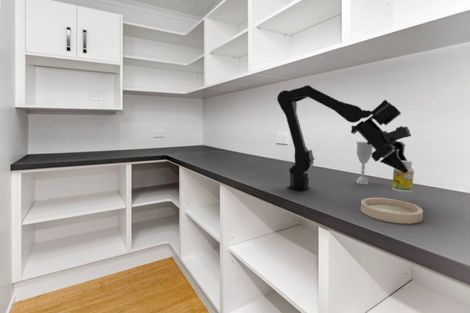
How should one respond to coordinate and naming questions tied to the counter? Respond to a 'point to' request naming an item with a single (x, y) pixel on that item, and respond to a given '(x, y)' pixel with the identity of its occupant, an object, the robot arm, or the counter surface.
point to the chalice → (363, 158)
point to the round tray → (391, 210)
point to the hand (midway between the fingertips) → (408, 170)
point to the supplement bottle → (403, 178)
